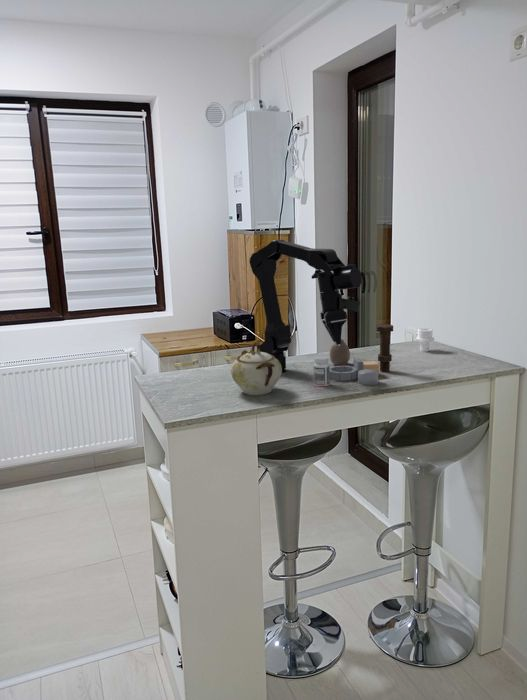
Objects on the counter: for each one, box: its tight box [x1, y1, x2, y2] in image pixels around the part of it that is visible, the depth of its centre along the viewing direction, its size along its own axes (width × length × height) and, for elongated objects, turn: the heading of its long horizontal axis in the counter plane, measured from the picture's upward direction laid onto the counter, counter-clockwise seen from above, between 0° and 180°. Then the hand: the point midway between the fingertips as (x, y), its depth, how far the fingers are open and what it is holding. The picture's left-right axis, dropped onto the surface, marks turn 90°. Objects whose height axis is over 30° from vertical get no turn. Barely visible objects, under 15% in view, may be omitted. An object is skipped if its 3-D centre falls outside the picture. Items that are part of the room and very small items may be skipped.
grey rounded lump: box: [357, 369, 379, 386], centre depth 179 cm, size 6×6×4 cm
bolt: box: [376, 323, 394, 373], centre depth 190 cm, size 6×5×15 cm
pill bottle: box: [313, 355, 331, 387], centre depth 178 cm, size 5×5×8 cm
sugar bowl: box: [230, 341, 283, 396], centre depth 173 cm, size 20×15×15 cm
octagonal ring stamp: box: [329, 357, 380, 382], centre depth 186 cm, size 16×9×5 cm, turn 96°
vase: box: [329, 338, 351, 366], centre depth 201 cm, size 7×7×9 cm
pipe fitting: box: [415, 327, 435, 353], centre depth 218 cm, size 6×7×8 cm
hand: (337, 343), depth 177 cm, fingers open, 9 cm apart
